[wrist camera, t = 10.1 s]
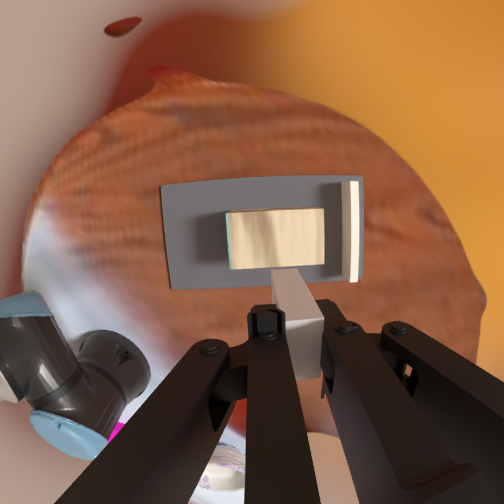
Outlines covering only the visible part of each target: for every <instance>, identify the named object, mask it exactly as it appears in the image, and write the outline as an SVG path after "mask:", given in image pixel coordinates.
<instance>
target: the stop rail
mask: <svg viewBox="0 0 504 504" xmlns="http://www.w3.org/2000/svg"><path fill="white" fill-rule="evenodd" d="M341 194H342V275H343V276H344V277H345V278H346V279H347V280H348V281H349V282H358V267H359V185H358V181H346V182H341Z"/></svg>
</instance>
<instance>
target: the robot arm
mask: <svg viewBox="0 0 504 504" xmlns="http://www.w3.org/2000/svg"><path fill="white" fill-rule="evenodd" d="M271 283H272V304H266V305H255V306H254V307H253V308H252V309H251V312H249V313H248V315H247V322H248V335H249V339H248V340H247V341H246V342H245V343H243V344H241V345H239V346H235V347H231V348H229V346H228V344H227V343H226V342H224V341H223V340H218V339H207V340H206V339H205V340H202V341H199V342H197V343H195V344H194V345H193V346H192V347H191V348H190V349H189V350H188V352H187V353H186V354H185V355H184V356H183V357H182V359H181V360H180V361H179V362H178V363H177V365H176V366H175V367H174V368H173V369H172V370H171V372H170V373H169V374H168V375H167V376H166V377H165V379H164V380H163V381H162V382H161V383H160V384H159V386H158V387H157V388H156V389H155V390H154V391H153V393H152V394H151V395H150V396H149V397H148V398H147V400H146V401H145V402H144V403H143V404H142V405H141V407H140V408H139V409H138V410H137V411H136V412H135V413H134V415H133V416H132V417H131V418H130V419H129V420H128V422H127V423H126V424H125V425H124V426H123V427H122V428H121V430H120V431H119V432H118V433H117V434H116V435H115V436H114V438H113V439H112V440H111V441H110V442H109V443H108V440H109V438H110V436H111V434H112V432H113V430H114V428H115V426H116V424H117V422H118V420H119V418H120V416H121V414H122V412H123V410H124V409H125V407H126V405H127V404H129V403H130V402H131V401H132V400H133V399H134V398H136V397H138V396H140V395H141V394H142V393H143V392H144V391H145V389H146V387H147V385H148V384H149V381H150V377H151V372H150V367H149V364H148V362H147V360H146V358H145V356H144V355H143V353H142V352H141V351H140V349H139V348H138V347H137V346H136V345H135V344H134V343H133V342H131V341H130V340H129V339H127V338H126V337H124V336H122V335H120V334H118V333H116V332H113V331H108V330H98V331H95V332H93V333H91V334H90V335H89V336H88V337H87V338H86V339H85V340H84V341H83V342H82V344H81V347H80V350H79V354H78V356H77V358H76V356H75V355H74V353H73V351H72V350H71V348H70V346H69V345H68V343H67V341H66V339H65V338H64V336H63V334H62V332H61V330H60V328H59V326H58V324H57V322H56V320H55V318H54V314H53V313H51V311H50V309H49V308H48V306H47V304H46V302H45V300H44V298H43V296H42V295H41V294H40V293H39V292H37V291H26V292H22V293H19V294H16V295H13V296H10V297H7V298H5V299H2V300H0V402H1V401H2V400H7V401H11V402H15V403H18V402H19V401H20V400H21V399H23V398H24V397H25V399H26V400H27V402H28V403H29V404H30V405H31V407H32V408H33V410H32V411H30V416H29V420H30V422H31V424H32V426H33V428H34V429H35V430H36V431H37V433H38V434H39V435H40V436H41V437H42V438H44V439H45V440H46V441H47V442H48V443H50V444H51V445H52V446H54V447H55V448H57V449H59V450H60V451H62V452H64V453H66V454H68V455H70V456H73V457H75V458H79V459H83V460H93V459H94V460H93V461H92V462H91V464H90V465H89V466H88V467H87V468H86V469H85V470H84V471H83V472H82V474H81V475H80V476H79V477H78V478H77V479H76V480H75V481H74V482H73V483H72V485H71V486H70V487H69V488H68V489H67V490H66V491H65V492H64V493H63V495H61V497H60V498H59V499H58V500H57V501H56V502H55V503H54V504H187V503H188V501H189V500H190V498H191V496H192V494H193V492H194V490H195V488H196V486H197V484H198V482H199V480H200V478H201V476H202V474H203V472H204V470H205V468H206V466H207V464H208V462H209V460H210V458H211V456H212V454H213V452H214V450H215V448H216V446H217V444H218V442H219V440H220V438H221V435H222V433H223V431H224V429H225V427H226V425H227V423H228V420H229V418H230V416H231V414H232V412H233V409H234V407H235V403H236V401H237V400H241V399H245V398H247V415H246V454H245V493H244V504H321V502H320V497H319V492H318V487H317V481H316V476H315V471H314V466H313V461H312V457H311V451H310V446H309V441H308V436H307V431H306V426H305V422H304V417H303V412H302V407H301V403H300V398H299V393H298V389H297V384H296V380H299V379H309V378H318V377H320V372H321V368H322V371H323V382H322V391H321V399H322V398H324V394H325V393H326V396H327V399H328V402H329V406H330V409H331V412H332V415H333V418H334V421H335V424H336V427H337V431H338V434H339V437H340V440H341V443H342V446H343V449H344V453H345V456H346V460H347V463H348V466H349V470H350V473H351V476H352V479H353V483H354V486H355V489H356V493H357V497H358V500H359V504H504V382H502V381H501V380H499V379H498V378H496V377H494V376H493V375H491V374H490V373H488V372H486V371H485V370H483V369H482V368H480V367H479V366H477V365H475V364H474V363H472V362H470V361H469V360H467V359H466V358H464V357H462V356H461V355H459V354H458V353H456V352H454V351H453V350H451V349H449V348H448V347H446V346H445V345H443V344H441V343H440V342H438V341H436V340H435V339H433V338H431V337H430V336H428V335H426V334H425V333H423V332H421V331H420V330H418V329H416V328H415V327H413V326H411V325H409V324H407V323H404V322H401V321H393V322H389V323H386V324H384V325H383V327H382V331H381V334H380V333H365V331H364V330H363V329H362V327H361V326H360V325H359V324H357V323H355V322H352V321H347V320H346V318H345V317H344V315H343V314H342V313H341V311H340V310H339V308H338V307H337V305H336V304H335V303H334V302H332V301H330V300H328V299H323V300H314V298H313V296H312V294H311V293H310V291H309V289H308V287H307V285H306V284H305V282H304V280H303V278H302V276H301V275H300V273H299V271H298V269H297V268H292V269H275V270H271ZM407 364H408V365H409V366H411V367H412V372H411V375H410V376H408V375H406V374H405V371H406V367H407ZM105 446H106V447H105ZM104 447H105V448H104Z"/></svg>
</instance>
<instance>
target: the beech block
mask: <svg viewBox="0 0 504 504" xmlns="http://www.w3.org/2000/svg"><path fill="white" fill-rule="evenodd" d="M226 227H227V241H228V254H229V267H230V270H231V269H250V268H268V267H285V266H302V265H317V264H324V209H323V208H318V207H314V206H309V207H283V208H262V209H244V210H230V211H228V212H227V213H226Z"/></svg>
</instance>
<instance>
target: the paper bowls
mask: <svg viewBox="0 0 504 504" xmlns="http://www.w3.org/2000/svg"><path fill="white" fill-rule="evenodd" d="M197 485H199V486H201V487H204V488H207V489H210V490H215V491H223V492H233V491H240V490H244V489H245V455H244V454H242V453H241V452H240V451H239V450H237V449H235V448H232V447H229V446H224V445H217V446H216V448H215V450H214V452H213V454H212V456H211V458H210V460H209V462H208V464H207V466H206V468H205V470H204V472H203V474H202V476H201V478H200V480H199V482H198V484H197Z"/></svg>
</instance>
